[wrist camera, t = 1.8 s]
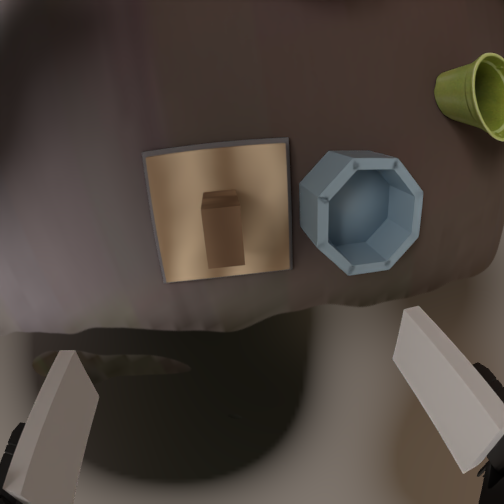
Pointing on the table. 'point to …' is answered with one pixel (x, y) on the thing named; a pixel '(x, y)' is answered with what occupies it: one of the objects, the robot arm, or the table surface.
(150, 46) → the table surface
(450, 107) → the plant pot
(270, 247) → the oak board
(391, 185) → the slate-blue bowl
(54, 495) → the robot arm
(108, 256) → the table surface
